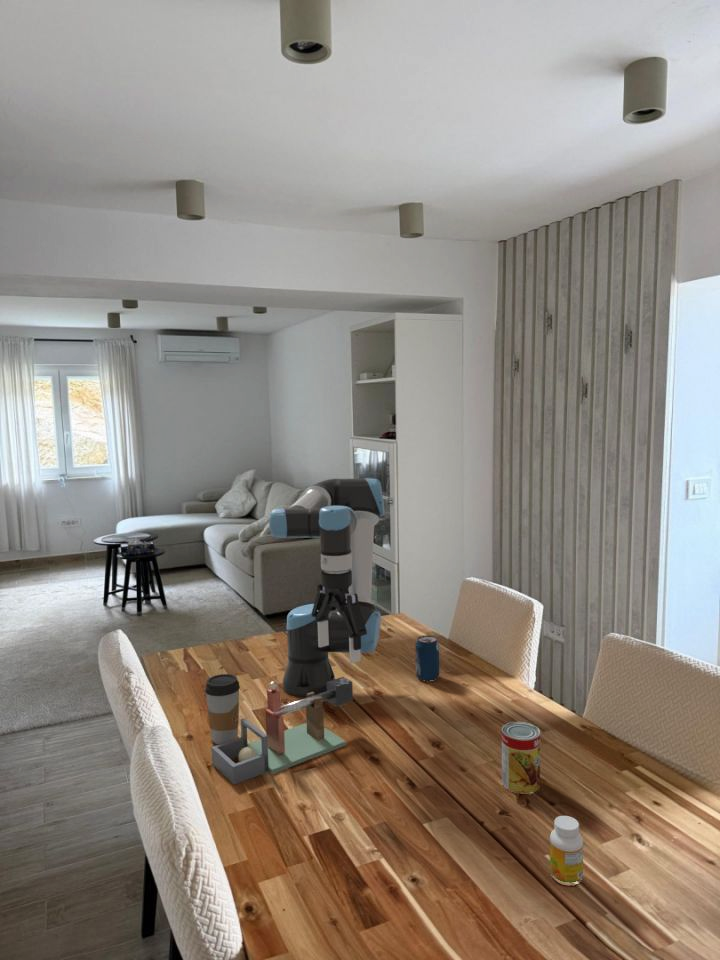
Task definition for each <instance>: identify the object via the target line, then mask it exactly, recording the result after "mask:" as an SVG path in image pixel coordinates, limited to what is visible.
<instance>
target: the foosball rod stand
mask: <svg viewBox="0 0 720 960" xmlns="http://www.w3.org/2000/svg"><path fill="white" fill-rule="evenodd" d="M278 688H279V684H278V682H277V681H273V680H272V681H271V682H269V683H268V689H267V690H266V694H267V696H266V697H267V700H266V701H267V708H266V709H265V727H266V728H265V730H266V732H265V734H266V735H267V738H268V746H269V747H270V748H272V749H273V750H274V751H275V752H277V753H278V754H279V755H281V754H284V753H285V740H284V731H285V720H284V719H285V718H284V715H287V714H290V713H293V712H296V711H299V710H302V709H306V707H308V706H311V705H314V698H317V697H320V696H321V697H322V703H323V702H327V703H329V704H331V705H332V706H334V707H335V708H336V707H340V706H342V705H346V704H348V703H351V702H353V701H354V696H353V689H354V688H353V680H349V679H348V678H346V677H344V676H341V677H338V678H335V680H331V681H328V682H327V691H326V692H323V693H320V694H317V695H314V696H311V697H308V698H307V697H305V698H302V699H300V700H296V701H293V702H290V703H287V704H284V705H282V706H281V701H282V700H281V691H280V690H279V689H278Z"/></svg>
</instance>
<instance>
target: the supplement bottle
mask: <svg viewBox="0 0 720 960" xmlns="http://www.w3.org/2000/svg"><path fill="white" fill-rule="evenodd" d="M553 823H554V826H553V829H552V831H551V833H550V835H549V874H550V873H551V874H552V876H554V877H555V878H556V879H558V880H560V881H563V882H570V883H571V882H576V881H579V880H580V879H581V878H582V876H584V838H583V836H582V834H581V833H580V823H579V821H578V820H577V819H575V818H574V817H572V816H568V815H559V816H556V818H555V819H554V822H553Z"/></svg>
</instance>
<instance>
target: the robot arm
mask: <svg viewBox="0 0 720 960" xmlns="http://www.w3.org/2000/svg"><path fill="white" fill-rule="evenodd" d="M382 516H385V504H384V496H383V489H382V484H381V481H380V480H379V479H377V478H367V477H364V478H330V479H324V480H322V481H321V480H320V481H319V482H316V483H314V484H312V485H310V486H308V487H307V488H306V489H305V490H304V491H303V492H302V494H301V495H300V498H299V499H297V500H296V501H295V502H294V503H293V504H292V505H290V506H289V507H288V508H283V507H282V508H274V509H273V510H272V511H271V512H270V514H269V532H270V534H271V535H272V537H273V538H283V539H287V538H289V539H293V538H295V539H298V538H299V539H300V538H301V539H302V538H307V539H308V538H312V539H313V538H314V539H315V538H316V539H318V538H319V545H320V546H319V547H320V569H321V572H320V578H321V579H320V582H321V583H320V584H317V592H316V597H315V599H314V603H310V604H304V605H300V606H297V607H295V608H292V610H290V612H288V614H287V616H286V635H287V637H286V639H287V641H286V642H287V659H288V660H287V664H286V667H285V671H284V675H283V677H282V689H283V690H284V691H285V693H288V694H290V695H294V696H297V697H307V696H306V694H307V693H310V692H314V694H315V695H317V694H320V693H323V692H326V691H327V682H328V681H331V680H335V679H336V676H335V673H334V670H333V668H332V665H331V663H330V659H329V653H349V663H350V664H351V665H352V664H354V663H358V662H360V661H361V659H362V654H366V653H373V652H374V650H376V649H377V645H378V643H379V642H378V641H379V637H380V633H381V632H380V631H381V621H382V619H381V618H382V616H381V612H380V611H378V610H377V606H376V604H375V603H374V602H373V601H372V589H373V588H372V587H373V586H372V585H373V584H372V583H373V564H374V563H373V561H374V559H373V558H374V557H373V556H374V555H373V554H374V536H375V535H374V533H375V532H374V531H375V526H376V525H377V524H378V523H380V517H382ZM333 608H335V610H332V609H333Z"/></svg>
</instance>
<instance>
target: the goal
mask: <svg viewBox="0 0 720 960" xmlns="http://www.w3.org/2000/svg"><path fill="white" fill-rule="evenodd" d="M248 730H250V731H251V732H252V733H253V734H255V735H256V736H257V737H258V738H260V739H261V742H262V754H260V755H258V756H255V757H252V758H249V759H247V760H244V761H241V762H236V763H235V762H234V761H233V760H234V759H237V758H238V755H239V752H240V751H241V750H242V749H243V748H245V747H248ZM240 735H241V736H240V737H237V739H234V740H231V741H228V742H225V743H222V744H216V745H214V746H211V763H212V765H213V766H214V767H215V769H217V770H218V771H219V772H220V773H221V774H222V775H224V777H226V779H227V780H229V781H230V783H231V784H233V786H234V785H237V784H240V783H243V782H245V781H248V780H249V779H253V778H255V777H257V776H260V775H263V774H266V773H268V772H269V763H268V738H267V735H266V732H265V733H264V732H263V731H262V730H261V729H259V728H258V727H257V726H255V724H253V723H251V722H250V721H249V720H248V719H246V718H245V717H244V718H241V719H240Z"/></svg>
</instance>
